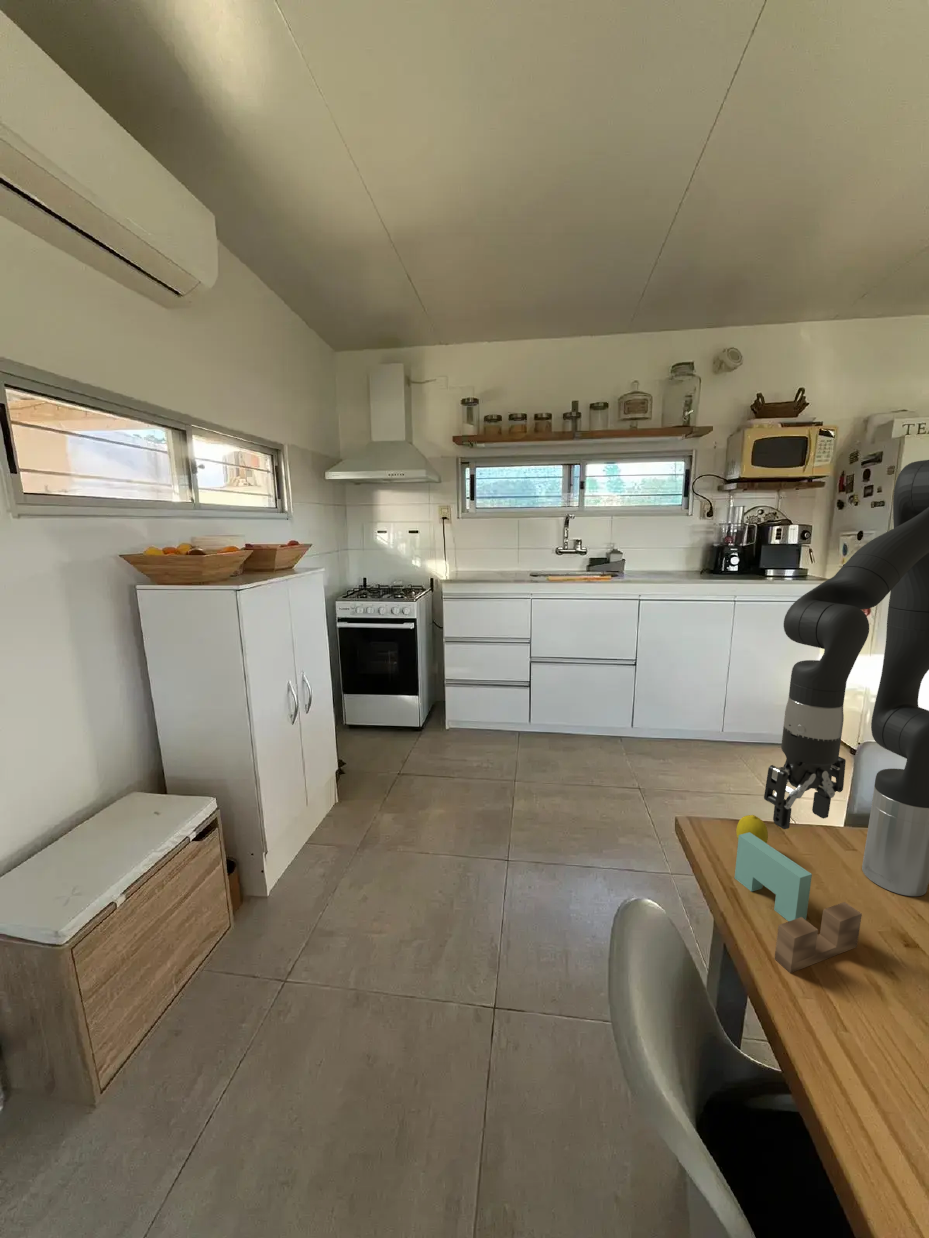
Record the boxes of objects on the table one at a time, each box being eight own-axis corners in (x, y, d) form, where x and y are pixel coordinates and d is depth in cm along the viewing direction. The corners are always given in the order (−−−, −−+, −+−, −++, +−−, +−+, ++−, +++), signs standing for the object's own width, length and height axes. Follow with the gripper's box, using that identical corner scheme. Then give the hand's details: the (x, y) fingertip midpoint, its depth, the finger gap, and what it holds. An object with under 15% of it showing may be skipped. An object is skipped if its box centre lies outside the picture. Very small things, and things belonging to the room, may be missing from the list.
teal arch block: (734, 878, 94) (738, 834, 92) (745, 874, 94) (749, 832, 93) (794, 925, 82) (800, 877, 81) (805, 921, 83) (811, 874, 82)
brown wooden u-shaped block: (839, 934, 81) (844, 901, 80) (856, 946, 78) (861, 913, 77) (774, 958, 76) (778, 924, 75) (790, 973, 74) (794, 938, 73)
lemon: (770, 861, 98) (774, 824, 96) (739, 858, 99) (743, 822, 98) (760, 844, 103) (763, 809, 102) (731, 841, 104) (734, 806, 103)
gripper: (821, 713, 84) (810, 800, 87) (756, 725, 80) (747, 817, 83) (869, 730, 77) (855, 824, 80) (801, 744, 73) (789, 843, 76)
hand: (800, 820), depth 81 cm, fingers open, 8 cm apart
